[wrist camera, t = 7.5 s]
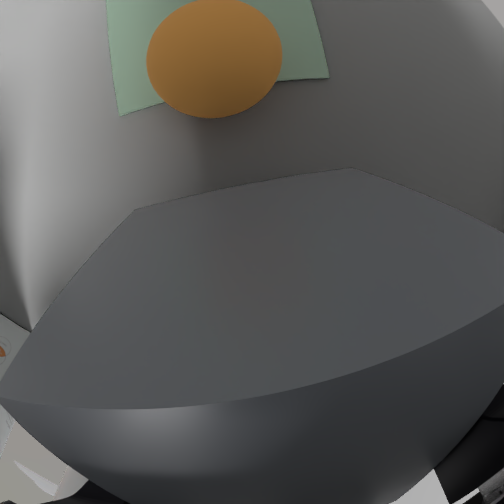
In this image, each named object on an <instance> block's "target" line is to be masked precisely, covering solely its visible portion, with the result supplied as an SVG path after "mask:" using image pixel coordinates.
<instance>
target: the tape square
mask: <svg viewBox="0 0 504 504" xmlns="http://www.w3.org/2000/svg"><path fill="white" fill-rule="evenodd" d="M194 1H197V0H106V8H107V25H108V38H109V49H110V58H111V66H112V74H113V81H114V88H115V95H116V101H117V107H118V112H119V116H123V115H126V114H129V113H132V112H135V111H138V110H141V109H144V108H147V107H151V106H154V105H157V104H161V103H164V102H165V101H164V100H163V99H162V98H161V97H160V96H159V95H158V94H157V92H156V91H155V90H154V88H153V86H152V84H151V82H150V79H149V76H148V73H147V67H146V55H147V49H148V46H149V43H150V40H151V38H152V36H153V33H154V32H155V30H156V29H157V27H158V26H159V25H160V24H161V22H162V21H163V20H164V19H165V18H166V17H168V16H169V15H170V14H171V13H172V12H174V11H175V10H177V9H178V8H180V7H182V6H184V5H186V4H188V3H191V2H194ZM238 1H241V2H244V3H246V4H248V5H250V6H252V7H254V8H256V9H257V10H258V11H260V12H261V13H263V14H264V15H265V16H266V17H267V18H268V19H269V21H270V22H271V23H272V24H273V26H274V28H275V29H276V31H277V33H278V36H279V38H280V41H281V46H282V65H281V69H280V73H279V75H278V78H277V80H276V81H287V80H300V79H319V78H330V76H329V72H328V67H327V62H326V58H325V53H324V49H323V45H322V40H321V36H320V32H319V29H318V25H317V21H316V17H315V14H314V10H313V7H312V4H311V0H238Z"/></svg>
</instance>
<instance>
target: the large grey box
mask: <svg viewBox="0 0 504 504" xmlns="http://www.w3.org/2000/svg"><path fill="white" fill-rule="evenodd" d="M503 383H504V233H503V232H501V231H499V230H497V229H495V228H493V227H492V226H490V225H488V224H486V223H484V222H482V221H480V220H478V219H476V218H474V217H472V216H470V215H468V214H466V213H464V212H462V211H460V210H458V209H456V208H454V207H451V206H449V205H447V204H445V203H443V202H440V201H438V200H436V199H434V198H431V197H429V196H427V195H424V194H422V193H419V192H417V191H414V190H412V189H409V188H407V187H404V186H402V185H399V184H397V183H394V182H391V181H389V180H386V179H383V178H380V177H378V176H375V175H372V174H369V173H366V172H363V171H360V170H357V169H354V168H345V169H337V170H329V171H322V172H315V173H309V174H302V175H296V176H289V177H283V178H278V179H272V180H266V181H261V182H255V183H250V184H245V185H239V186H234V187H229V188H225V189H220V190H215V191H210V192H206V193H201V194H197V195H192V196H188V197H184V198H180V199H175V200H171V201H167V202H163V203H159V204H155V205H151V206H147V207H144V208H140V209H136V210H134V211H133V212H132V213H131V214H130V215H129V216H128V217H127V218H126V219H125V220H124V221H123V222H122V223H121V224H120V225H119V226H118V228H117V229H116V230H115V231H114V232H113V233H112V234H111V235H110V236H109V237H108V238H107V239H106V240H105V241H104V242H103V243H102V245H101V246H100V247H99V248H98V249H97V250H96V251H95V252H94V253H93V255H92V256H91V257H90V258H89V259H88V260H87V261H86V263H85V264H84V265H83V266H82V267H81V268H80V270H79V271H78V272H77V273H76V274H75V275H74V277H73V278H72V279H71V280H70V282H69V283H68V284H67V285H66V286H65V288H64V289H63V290H62V291H61V293H60V294H59V295H58V297H57V298H56V299H55V300H54V302H53V303H52V304H51V306H50V307H49V308H48V310H47V311H46V312H45V314H44V315H43V316H42V318H41V319H40V321H39V322H38V323H37V325H36V326H35V328H34V329H33V330H32V332H31V333H30V335H29V336H28V338H27V339H26V341H25V342H24V344H23V345H22V347H21V348H20V350H19V351H18V353H17V354H16V356H15V358H14V359H13V361H12V362H11V364H10V366H9V367H8V369H7V371H6V372H5V374H4V376H3V378H2V379H1V381H0V404H1V405H2V407H3V408H4V409H5V410H6V411H7V412H8V413H9V414H10V415H11V416H12V417H13V418H14V419H15V420H16V421H17V422H18V423H19V424H20V425H21V426H22V427H23V428H24V429H25V430H26V431H27V432H28V433H29V434H30V435H32V436H33V437H34V438H35V439H36V440H37V441H38V442H39V443H41V444H42V445H43V446H44V447H45V448H47V449H48V450H49V451H50V452H52V453H53V454H54V455H55V456H56V457H58V458H59V459H60V460H62V461H63V462H64V463H66V464H67V465H68V466H70V467H71V468H72V469H74V470H75V471H77V472H78V473H80V474H81V475H83V476H84V477H86V478H87V479H89V480H90V481H92V482H93V483H95V484H96V485H98V486H100V487H101V488H103V489H105V490H106V491H108V492H110V493H111V494H113V495H115V496H117V497H119V498H120V499H122V500H124V501H126V502H128V503H130V504H389V503H391V502H394V501H396V500H397V499H399V498H400V497H401V496H402V495H404V494H405V493H406V492H407V491H409V490H410V489H411V488H412V487H413V486H414V485H416V484H417V483H418V482H419V481H420V480H422V479H423V478H424V477H425V476H426V475H427V474H428V473H429V472H430V471H431V470H432V469H434V468H435V467H436V466H437V465H438V464H439V463H440V462H441V461H442V460H443V459H444V458H445V457H446V456H447V455H448V454H449V452H450V451H451V450H452V449H453V448H454V447H455V446H456V445H457V444H458V443H459V442H460V440H461V439H462V438H463V437H464V436H465V435H466V434H467V432H468V431H469V430H470V429H471V428H472V426H473V425H474V424H475V423H476V421H477V420H478V419H479V417H480V416H481V415H482V414H483V412H484V411H485V410H486V408H487V407H488V405H489V404H490V403H491V401H492V400H493V398H494V397H495V395H496V394H497V393H498V391H499V389H500V388H501V386H502V385H503Z"/></svg>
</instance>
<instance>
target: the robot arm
mask: <svg viewBox="0 0 504 504" xmlns="http://www.w3.org/2000/svg"><path fill="white" fill-rule="evenodd" d="M434 470H435V472H436V475H437V477H438V479H439V481H440V483H441V486H442V488H443V490H444V493H445V495H446V497H447V500H448V502H449V504H453V503H454V502H456V501H458V500H460V499H461V498H463V497H464V496H466V495H467V494H469V493H470V492H472V491H473V490H475V489H476V488H478V489H479V491H480V493H481V495H482V497H483V501H482V504H504V384H503V385H502V386H501V388H500V389H499V391H498V393H497V394H496V395H495V397H494V398H493V400H492V401H491V403H490V404H489V405H488V407H487V408H486V410H485V411H484V412H483V414H482V415H481V416H480V417H479V419H478V420H477V421H476V423H475V424H474V425H473V426H472V428H471V429H470V430H469V431H468V432H467V434H466V435H465V436H464V437H463V438H462V439H461V440H460V442H459V443H458V444H457V445H456V446H455V447H454V448H453V449H452V450H451V451H450V452H449V454H448V455H447V456H446V457H445V458H444V459H443V460H442V461H441V462H440V463H439V464H438V465H437V466H436V467H435V468H434ZM0 504H16V503H14V502H12V501H10V500H8V501H5V502H2V503H0ZM42 504H130V503H128V502H126V501H124V500H122V499H120V498H119V497H117V496H115V495H113V494H111V493H110V492H108V491H106V490H105V489H103V488H101V487H100V486H98V485H96V484H95V483H93V482H92V481H90V480H88V481H87V482H86V483H85V484H84V485H83V486H82V487H81V488H80V489H79V490H78V491H77V492H76V493H74V494H73V495H71V496H69V497H67V498H63V499H59V500H55V501H51V502H46V503H42Z"/></svg>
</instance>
